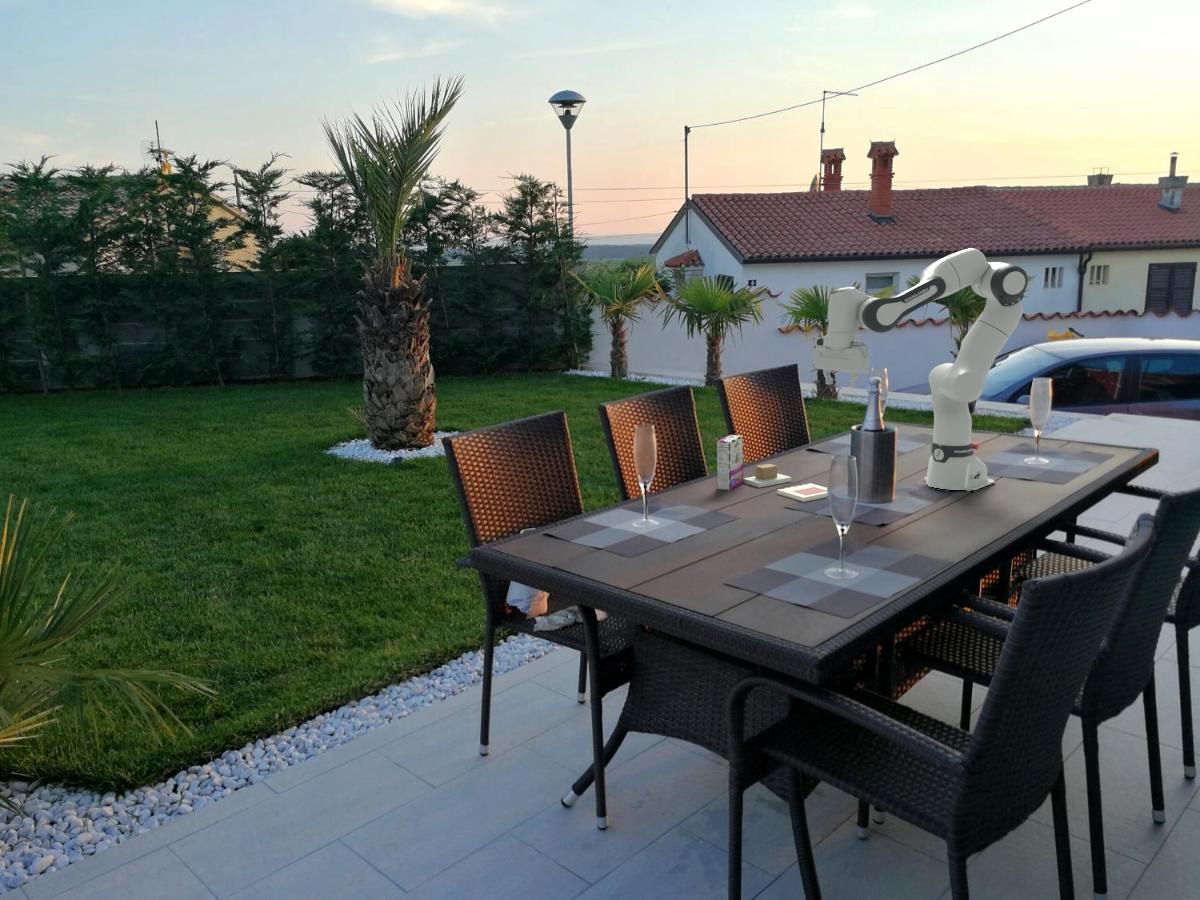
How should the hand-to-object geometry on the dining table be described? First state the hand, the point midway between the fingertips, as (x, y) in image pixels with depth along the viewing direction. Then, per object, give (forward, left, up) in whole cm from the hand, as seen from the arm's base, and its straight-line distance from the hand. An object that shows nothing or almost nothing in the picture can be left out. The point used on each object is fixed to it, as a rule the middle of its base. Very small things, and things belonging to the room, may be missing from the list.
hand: (840, 385), depth 260 cm
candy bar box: (+23, -26, -34) cm, 49 cm away
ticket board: (+10, -3, -34) cm, 36 cm away
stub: (+10, -22, -34) cm, 42 cm away
